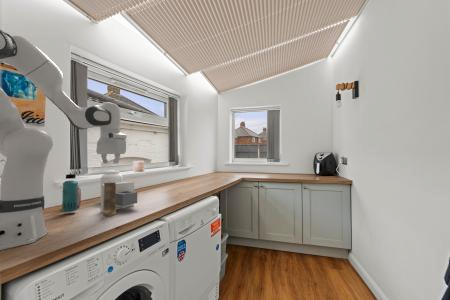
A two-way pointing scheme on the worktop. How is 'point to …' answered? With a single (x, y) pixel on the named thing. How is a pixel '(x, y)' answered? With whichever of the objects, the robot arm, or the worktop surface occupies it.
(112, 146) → the robot arm
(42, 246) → the worktop surface
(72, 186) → the beverage bottle
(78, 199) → the soda can
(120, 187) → the white grey blocky piece
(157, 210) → the worktop surface
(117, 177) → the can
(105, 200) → the walnut rail
